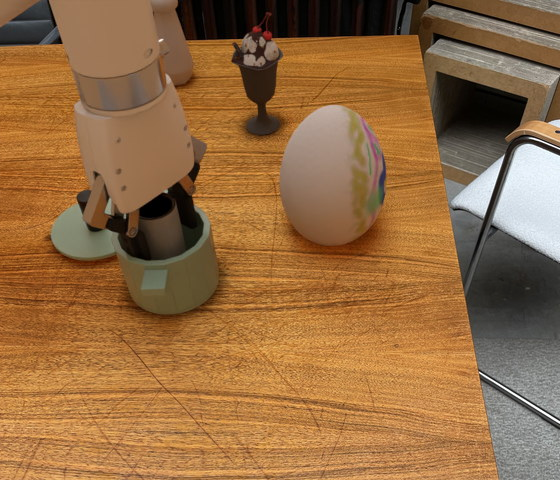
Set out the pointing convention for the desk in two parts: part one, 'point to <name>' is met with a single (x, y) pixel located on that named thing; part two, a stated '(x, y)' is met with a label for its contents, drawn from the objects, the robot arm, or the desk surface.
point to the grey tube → (162, 227)
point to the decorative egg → (333, 176)
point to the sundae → (259, 75)
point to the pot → (173, 272)
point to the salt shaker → (172, 41)
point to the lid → (81, 233)
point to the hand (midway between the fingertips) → (163, 238)
